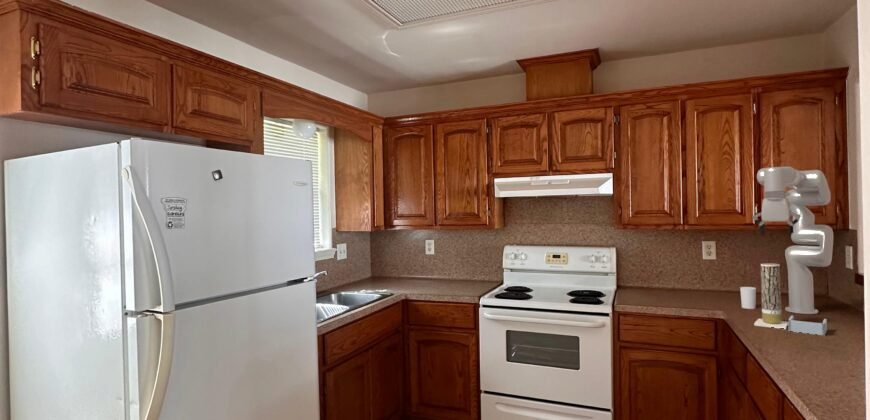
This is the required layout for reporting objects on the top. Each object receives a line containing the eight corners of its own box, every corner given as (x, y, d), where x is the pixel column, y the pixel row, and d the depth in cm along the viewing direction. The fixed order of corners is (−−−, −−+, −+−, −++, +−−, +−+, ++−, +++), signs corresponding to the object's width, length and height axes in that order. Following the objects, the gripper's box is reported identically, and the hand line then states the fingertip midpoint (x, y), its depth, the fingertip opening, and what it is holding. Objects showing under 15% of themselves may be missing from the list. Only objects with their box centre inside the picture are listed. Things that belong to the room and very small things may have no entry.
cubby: (791, 326, 203) (791, 315, 203) (826, 330, 195) (826, 319, 195) (788, 331, 195) (788, 320, 195) (825, 335, 187) (824, 324, 187)
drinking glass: (758, 309, 237) (758, 288, 237) (744, 308, 238) (743, 288, 238) (752, 306, 244) (752, 286, 244) (738, 306, 245) (737, 286, 245)
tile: (758, 320, 213) (758, 318, 213) (789, 324, 206) (789, 321, 206) (754, 325, 205) (754, 323, 205) (785, 329, 198) (785, 326, 198)
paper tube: (758, 321, 208) (756, 264, 208) (769, 319, 210) (767, 263, 210) (774, 324, 201) (772, 265, 202) (785, 323, 204) (783, 264, 204)
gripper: (800, 194, 205) (802, 234, 205) (753, 196, 217) (754, 234, 217) (798, 194, 199) (800, 235, 200) (749, 196, 211) (751, 235, 211)
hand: (776, 234), depth 208 cm, fingers open, 9 cm apart
